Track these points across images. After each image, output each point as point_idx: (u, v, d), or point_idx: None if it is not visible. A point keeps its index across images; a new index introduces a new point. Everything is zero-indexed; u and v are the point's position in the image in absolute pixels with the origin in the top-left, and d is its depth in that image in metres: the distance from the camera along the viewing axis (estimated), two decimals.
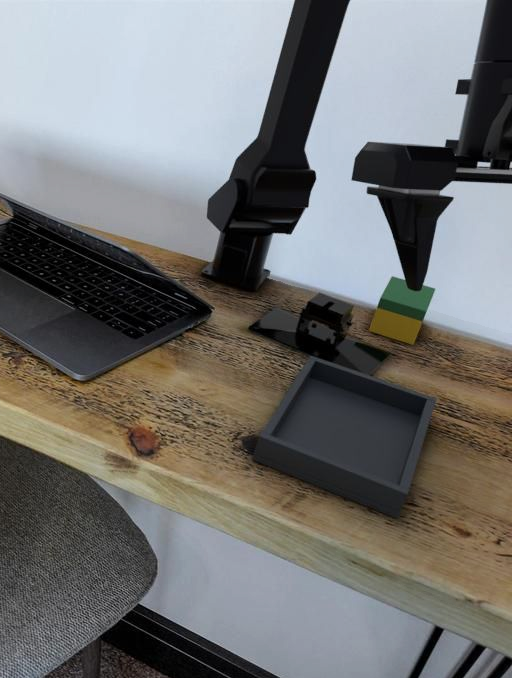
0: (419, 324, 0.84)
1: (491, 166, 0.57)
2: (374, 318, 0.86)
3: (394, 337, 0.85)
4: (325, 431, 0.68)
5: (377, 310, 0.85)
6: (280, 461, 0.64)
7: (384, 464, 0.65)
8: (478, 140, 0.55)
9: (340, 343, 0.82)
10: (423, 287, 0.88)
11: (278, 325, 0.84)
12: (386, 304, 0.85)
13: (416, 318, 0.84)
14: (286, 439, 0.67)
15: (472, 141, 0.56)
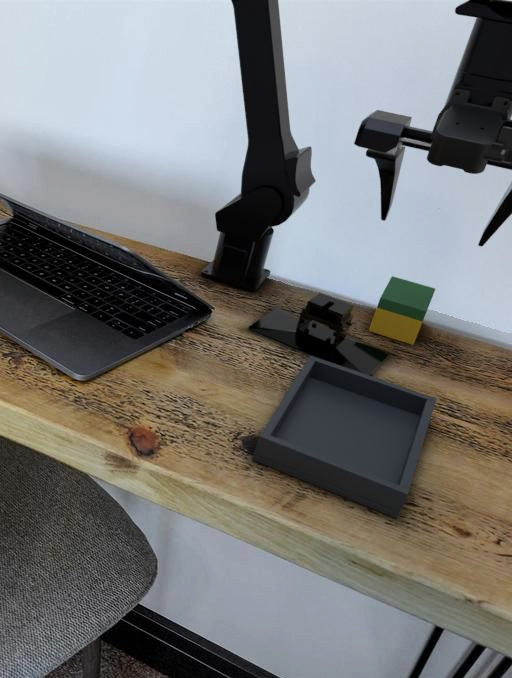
0: (419, 324, 0.84)
1: None
2: (374, 318, 0.86)
3: (394, 337, 0.85)
4: (325, 431, 0.68)
5: (377, 310, 0.85)
6: (280, 461, 0.64)
7: (384, 464, 0.65)
8: None
9: (340, 343, 0.82)
10: (423, 287, 0.88)
11: (278, 325, 0.84)
12: (386, 304, 0.85)
13: (416, 318, 0.84)
14: (286, 439, 0.67)
15: None
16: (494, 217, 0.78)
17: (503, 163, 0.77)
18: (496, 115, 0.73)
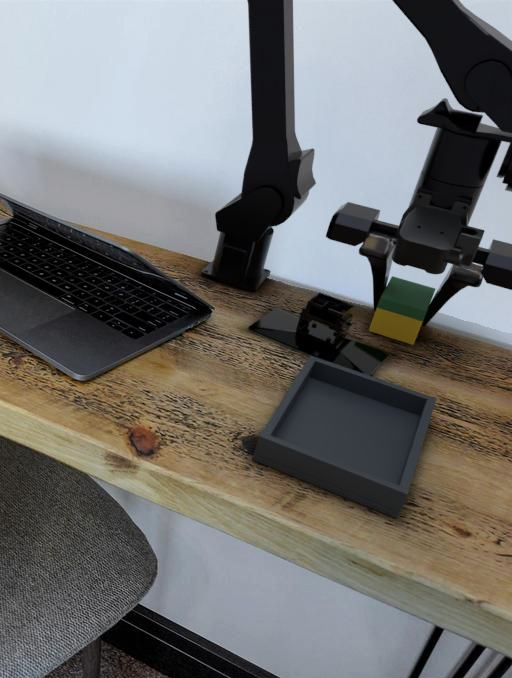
0: (419, 324, 0.84)
1: None
2: (374, 318, 0.86)
3: (394, 337, 0.85)
4: (325, 431, 0.68)
5: (377, 310, 0.85)
6: (280, 461, 0.64)
7: (384, 464, 0.65)
8: None
9: (340, 343, 0.82)
10: (423, 287, 0.88)
11: (278, 325, 0.84)
12: (386, 304, 0.85)
13: (416, 318, 0.84)
14: (286, 439, 0.67)
15: None
16: (434, 301, 0.84)
17: None
18: (455, 219, 0.78)
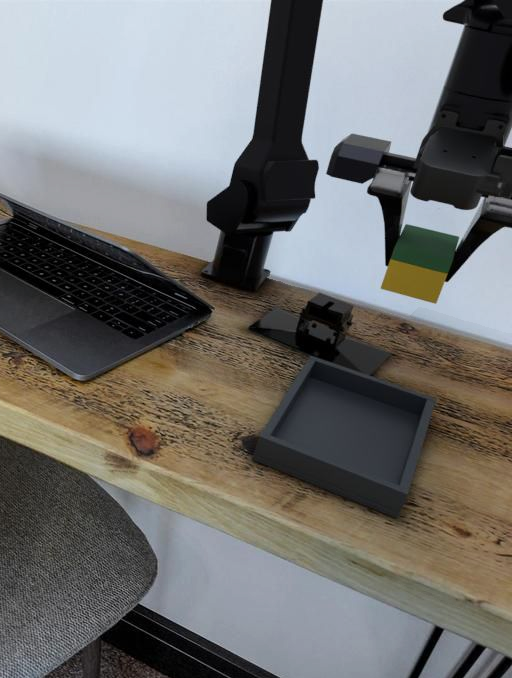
0: (443, 277, 0.68)
1: None
2: (387, 272, 0.70)
3: (412, 295, 0.70)
4: (325, 431, 0.68)
5: (391, 262, 0.70)
6: (280, 461, 0.64)
7: (384, 464, 0.65)
8: None
9: (340, 343, 0.82)
10: (444, 235, 0.72)
11: (278, 325, 0.84)
12: (402, 254, 0.69)
13: (440, 270, 0.68)
14: (286, 439, 0.67)
15: None
16: (460, 249, 0.69)
17: (498, 195, 0.66)
18: (490, 141, 0.62)
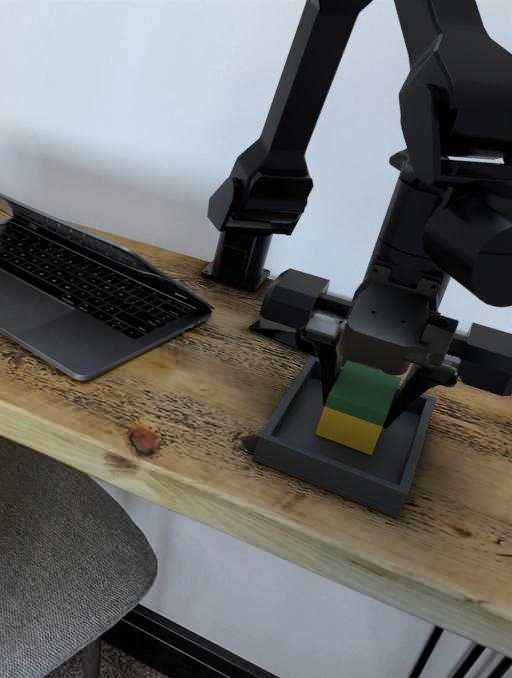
0: (378, 430, 0.65)
1: None
2: (322, 419, 0.67)
3: (347, 444, 0.67)
4: None
5: (325, 410, 0.66)
6: (280, 461, 0.64)
7: (384, 464, 0.65)
8: None
9: None
10: (385, 376, 0.69)
11: (278, 325, 0.84)
12: (336, 403, 0.66)
13: (374, 422, 0.65)
14: (286, 439, 0.67)
15: None
16: (397, 400, 0.65)
17: None
18: (422, 301, 0.59)
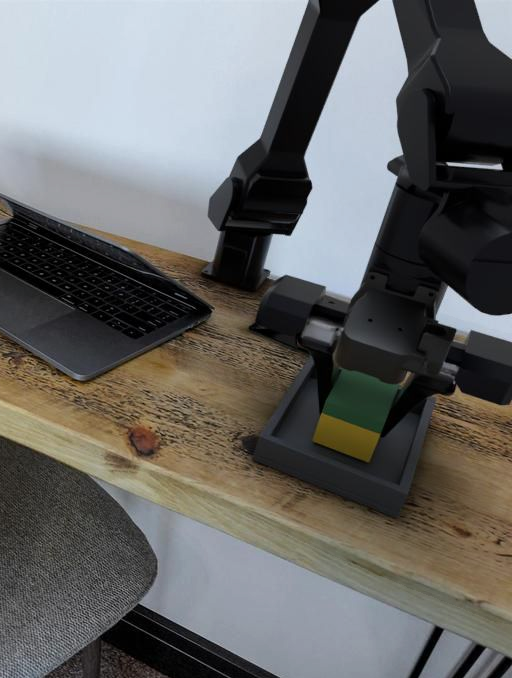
0: (376, 437, 0.64)
1: None
2: (319, 426, 0.66)
3: (344, 451, 0.65)
4: None
5: (322, 416, 0.65)
6: (280, 461, 0.64)
7: (384, 464, 0.65)
8: None
9: None
10: (383, 382, 0.68)
11: None
12: (333, 410, 0.65)
13: (372, 430, 0.64)
14: (286, 439, 0.67)
15: None
16: (395, 408, 0.65)
17: None
18: (419, 309, 0.58)
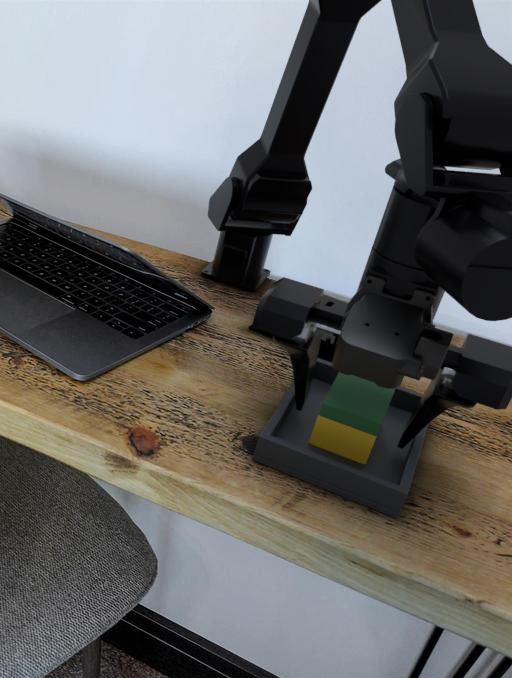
0: (372, 440, 0.64)
1: None
2: (315, 428, 0.66)
3: (341, 453, 0.65)
4: None
5: (319, 418, 0.65)
6: (280, 461, 0.64)
7: (384, 464, 0.65)
8: None
9: None
10: None
11: None
12: (330, 412, 0.65)
13: (368, 432, 0.64)
14: (286, 439, 0.67)
15: None
16: (414, 419, 0.64)
17: None
18: (416, 313, 0.58)
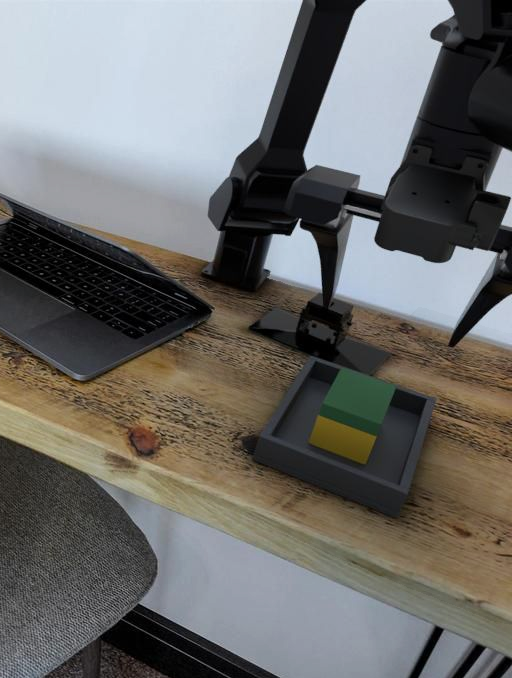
0: (372, 440, 0.64)
1: None
2: (315, 428, 0.66)
3: (341, 453, 0.65)
4: None
5: (319, 418, 0.65)
6: (280, 461, 0.64)
7: (384, 464, 0.65)
8: None
9: (340, 343, 0.82)
10: (380, 384, 0.68)
11: (278, 325, 0.84)
12: (330, 412, 0.65)
13: (368, 432, 0.64)
14: (286, 439, 0.67)
15: None
16: (468, 312, 0.59)
17: None
18: (467, 182, 0.53)
